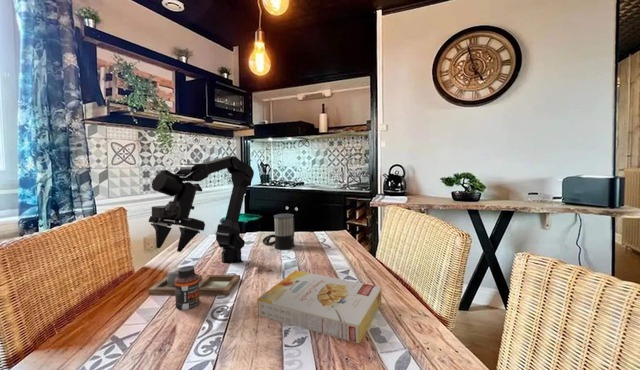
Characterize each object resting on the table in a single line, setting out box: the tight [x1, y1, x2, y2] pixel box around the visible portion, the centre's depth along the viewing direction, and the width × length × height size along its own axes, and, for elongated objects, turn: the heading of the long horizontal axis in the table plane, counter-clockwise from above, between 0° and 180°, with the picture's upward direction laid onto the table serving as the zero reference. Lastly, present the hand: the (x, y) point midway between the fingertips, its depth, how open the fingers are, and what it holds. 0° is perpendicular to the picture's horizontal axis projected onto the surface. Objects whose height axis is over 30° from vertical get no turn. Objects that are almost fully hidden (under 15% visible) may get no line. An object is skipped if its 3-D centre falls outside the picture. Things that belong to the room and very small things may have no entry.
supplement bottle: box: [174, 265, 201, 311], centre depth 79 cm, size 6×6×11 cm
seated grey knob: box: [166, 267, 180, 287], centre depth 91 cm, size 5×5×5 cm
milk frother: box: [262, 213, 295, 251], centre depth 135 cm, size 14×16×15 cm
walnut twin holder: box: [147, 274, 241, 296], centre depth 91 cm, size 11×24×2 cm, turn 87°
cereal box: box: [256, 270, 382, 344], centre depth 78 cm, size 20×6×28 cm
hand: (168, 249), depth 89 cm, fingers open, 9 cm apart
